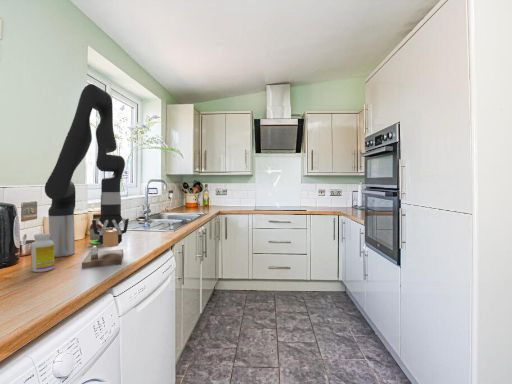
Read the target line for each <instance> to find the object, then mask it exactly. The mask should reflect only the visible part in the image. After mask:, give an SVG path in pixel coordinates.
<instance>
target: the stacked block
mask: <svg viewBox="0 0 512 384" xmlns="http://www.w3.org/2000/svg"><path fill="white" fill-rule="evenodd" d="M100 216H101V212H100V213H94V214H92V220H93V219H99V218H100ZM97 226H98V231H101V229H102V227H103V225H102V224H99V223H98V224H97ZM87 230H88V231H89V245H102V244H101V243H100V242H99V235H98V234H95V233H94V229H93V224H92V223H91V224H90V226H89V229H87ZM108 230H114V228H112V227H110V228H106V229H105V231H108Z"/></svg>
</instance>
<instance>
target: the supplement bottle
mask: <svg viewBox="0 0 512 384" xmlns="http://www.w3.org/2000/svg"><path fill="white" fill-rule="evenodd" d="M33 238H34V241H33V242H32V243H31V245H30V251H31V252H30V253H31V254H30V255H31V256H30V257H31V271H32V272H33V273H44V272H47V271H48V272H49V271H51V270H53V269H55V265H56V264H55V257H54V242H53V241H51V240H50V233H49V232H48V233H45V232H44V233H36V234H34V235H33Z"/></svg>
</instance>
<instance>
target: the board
mask: <svg viewBox="0 0 512 384" xmlns="http://www.w3.org/2000/svg"><path fill="white" fill-rule="evenodd" d="M123 257H124V249H123V248H122V249H110V250H100V251H99V250H98V259H91V251H89V252H88V253H87V255H86V256H85V257H84V259H83V261H82V262H81V268H82V269H86V268H87V269H88V268H89V269H90V268H98V267H107V266H116V265H122V263H123V262H122V261H123Z"/></svg>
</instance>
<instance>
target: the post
mask: <svg viewBox="0 0 512 384" xmlns="http://www.w3.org/2000/svg"><path fill="white" fill-rule="evenodd" d="M98 251H99V248H98V246H96V245H93V246H91V248H90V252H91V259H98Z"/></svg>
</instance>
